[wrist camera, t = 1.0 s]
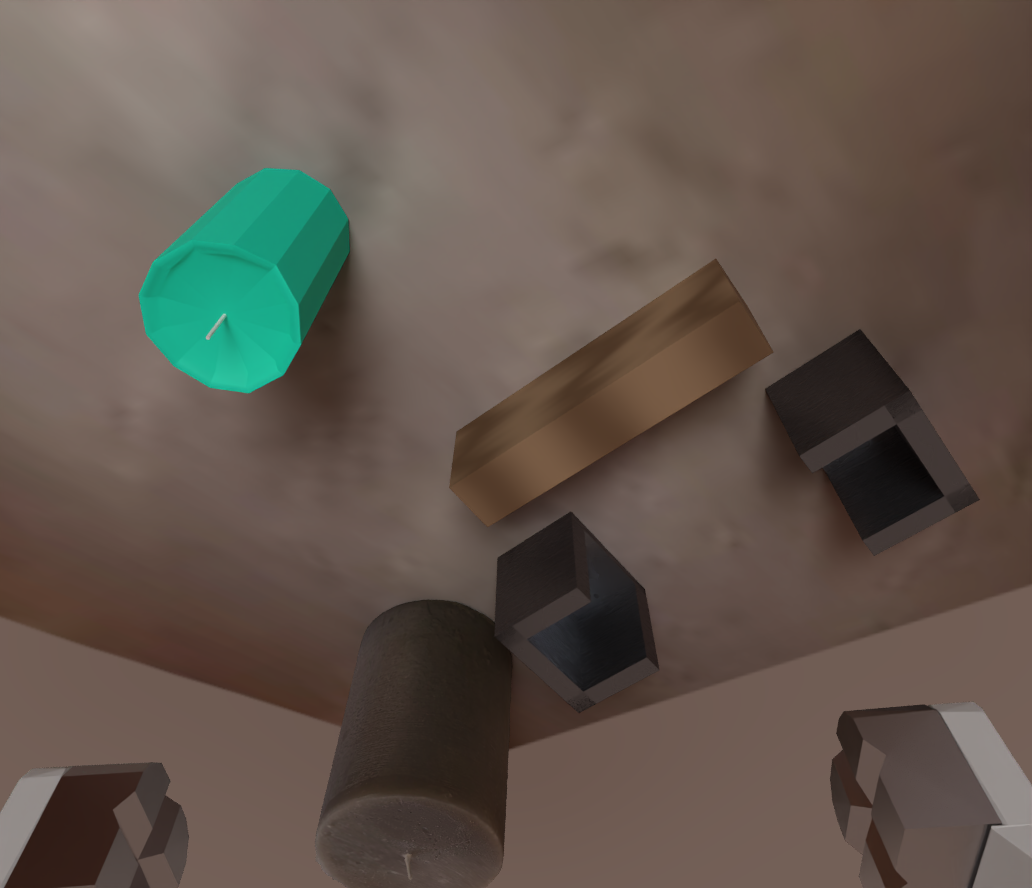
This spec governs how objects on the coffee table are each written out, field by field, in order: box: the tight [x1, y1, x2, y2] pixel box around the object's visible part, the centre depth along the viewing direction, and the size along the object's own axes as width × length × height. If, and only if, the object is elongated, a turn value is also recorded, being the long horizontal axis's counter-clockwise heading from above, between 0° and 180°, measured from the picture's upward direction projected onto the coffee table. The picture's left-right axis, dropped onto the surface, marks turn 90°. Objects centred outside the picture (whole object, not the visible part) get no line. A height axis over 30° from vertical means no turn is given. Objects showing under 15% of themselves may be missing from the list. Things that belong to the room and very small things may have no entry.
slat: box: [449, 259, 773, 527], centre depth 42 cm, size 16×3×6 cm, turn 127°
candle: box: [139, 168, 350, 393], centre depth 36 cm, size 6×6×12 cm
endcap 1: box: [494, 512, 659, 713], centre depth 49 cm, size 5×7×6 cm
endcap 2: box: [766, 330, 980, 556], centre depth 43 cm, size 5×7×6 cm
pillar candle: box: [315, 600, 512, 888], centre depth 49 cm, size 10×10×15 cm
